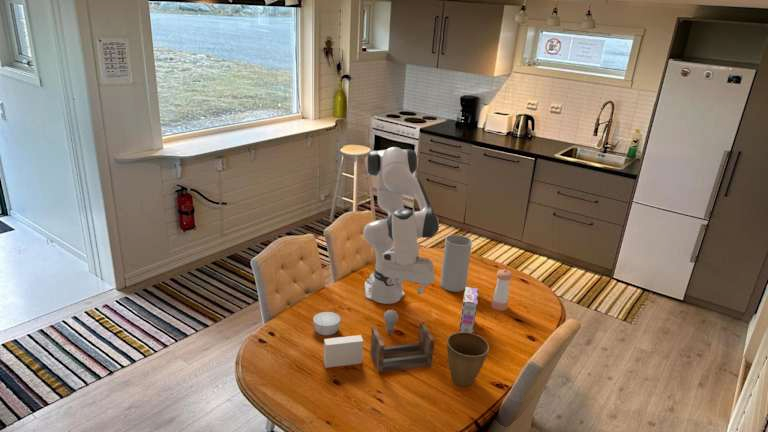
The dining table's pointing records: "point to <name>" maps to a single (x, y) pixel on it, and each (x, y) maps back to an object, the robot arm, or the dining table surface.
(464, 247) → the cylinder vase
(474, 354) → the plant pot
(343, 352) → the door panel
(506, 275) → the salt shaker
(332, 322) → the ramekin
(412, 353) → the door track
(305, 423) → the dining table surface
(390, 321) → the lightbulb
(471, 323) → the candy box
